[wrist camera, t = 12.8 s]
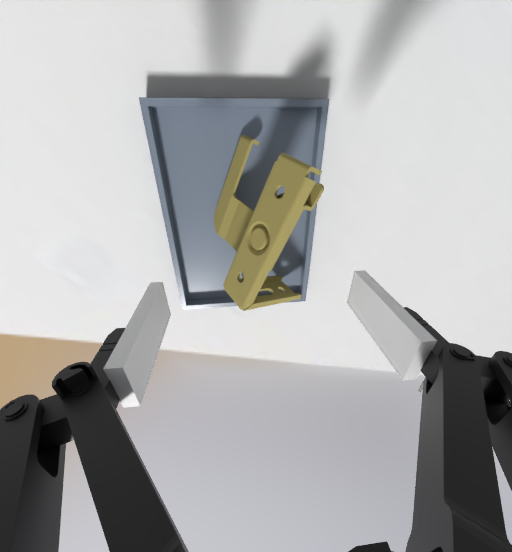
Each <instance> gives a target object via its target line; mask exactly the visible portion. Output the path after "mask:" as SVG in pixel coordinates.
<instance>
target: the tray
mask: <svg viewBox="0 0 512 552" xmlns="http://www.w3.org/2000/svg"><path fill="white" fill-rule="evenodd" d="M139 100H140V105H141V110H142V115H143V120H144V125H145V130H146V134H147V139H148V144H149V149H150V154H151V159H152V164H153V168H154V173H155V178H156V183H157V188H158V193H159V198H160V202H161V207H162V212H163V217H164V222H165V227H166V232H167V236H168V241H169V246H170V251H171V256H172V261H173V266H174V270H175V275H176V280H177V285H178V290H179V295H180V300H181V304H182V309H183V310H185V309H199V308H213V307H227V306H238V305H237V304H236V303H235V302H234V300H233V299H232V298H231V297H230V295H229V294H228V293H227V292H226V290H225V289H224V285H223V284H224V282H225V279H226V277H227V274H228V272H229V270H230V267H231V265H232V262H233V260H234V258H235V255H236V253H237V251H236V250H235V249H234V248H233V247H232V246H231V245H230V244H229V243H228V242H227V241H226V240H225V239H224V238H222V237H220V236H219V235H218V234H217V232H216V230H215V226H214V215H215V210H216V207H217V204H218V201H219V198H220V196H221V193H222V190H223V187H224V184H225V181H226V178H227V175H228V172H229V169H230V166H231V163H232V160H233V157H234V155H235V152H236V149H237V146H238V143H239V140H240V137H241V136H242V135H246V136H248V137H250V138H252V139H254V140H256V141H258V142H260V143H259V146H258V145H256V144H253V145H252V148H251V150H250V153H249V156H248V158H247V161H246V164H245V167H244V169H243V172H242V175H241V177H240V180H239V183H238V186H237V188H236V191H235V195H236V197H237V199H239V200H240V201H242V202H243V203H244V204H246V205H247V206H248V207H249V208H251V209H252V210H253V211H254V210H255V208H256V205H257V203H258V200H259V198H260V196H261V193H262V191H263V189H264V186H265V184H266V181H267V179H268V177H269V174H270V172H271V169H272V167H273V165H274V162H275V161H277V160H278V157H279V155H280V154H281V153H285V154H287V155H289V156H291V157H293V158H295V159H298V160H300V161H302V162H304V163H306V164H308V165H310V166H312V167H314V168H316V169H318V170H320V171H321V164H322V155H323V146H324V138H325V129H326V121H327V112H328V104H329V99H270V98H139ZM307 178H309V179H311V180H313V181H315V182H316V183H319V181H320V176H319V175H317V174H315V173H313V172H311V171H310V173H309V175H308V177H307ZM316 183H315V184H316ZM284 192H285V189H284V187H283V186H281V187H280V188H279V189H278V191H277V195H279V194H282V193H284ZM316 206H317V203H316V205H315V207H314V208H313V209H312V210H311V211H309V210H305V209H304V210H303V212H302V214H301V216H300V218H299V220H298V221H297V223H296V225H295V227H294V229H293V231H292V233H291V235H290V236H289V238H288V240H287V242H286V244H285V246H284V248H283V250H282V252H281V253H280V255H279V257H278V259H277V261H276V263H275V265H274V267H273V268H272V270H271V271H269V273H268V275H267V276H276V275H281V276H282V280H281V281H282V282H283V283H285V284H286V285H287V286H288V287H289V288H290V289H291V290H292V291H293V292H294V293H295V294H298V293H300V294H301V295H302V296H301V298H300V299H297V300H292V301H288V302H299V301H305V300H306V292H307V283H308V275H309V266H310V257H311V249H312V240H313V232H314V223H315V215H316ZM240 278H243V277H242V272H241V273H240ZM279 290H280V291H281V292H284V291H283V290H281V289H279ZM270 294H273V293H272V292H271V291H268V290H266V291H259V292H258V294H257V296H264V295H270ZM283 303H284V302H283Z"/></svg>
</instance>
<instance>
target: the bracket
mask: <svg viewBox="0 0 512 552" xmlns="http://www.w3.org/2000/svg"><path fill="white" fill-rule="evenodd" d="M259 143H260V142H258V141H256V140H254V139H252V138H250V137H248V136H246V135H242V136H241V137H240V140H239V143H238V146H237V149H236V152H235V155H234V157H233V160H232V163H231V166H230V169H229V172H228V175H227V178H226V181H225V184H224V187H223V190H222V193H221V196H220V198H219V201H218V204H217V207H216V210H215V215H214V226H215V230H216V232H217V234H218V235H219V236H220V237H222V238H224V239H225V240H226V241H227V242H228V243H229V244H230V245H231V246H232V247H233V248H234V249H235V250H236V251H237V253H236V255H235V258H234V260H233V262H232V265H231V267H230V270H229V272H228V274H227V277H226V279H225V282H224V284H223V285H224V289H225V290H226V292H227V293H228V294H229V295H230V297H231V298H232V299H233V300H234V302H235V303H236V304H237V305H238V307H239V308H240V309H243V310H244V311H245V310H250V309H254V308H259V307H264V306H269V305H273V304H278V303H283V302H288V301H292V300H297V299H300V298H301V296H302V295H301V294H300V293H298V294H295V293H294V292H293V291H292V290H291V289H290V288H289V287H288V286H287V285H286V284H285V283H283V282H282V281H281V280H282V276H281V275H276V276H267V275H268V273H269V271H271V270H272V268H273V267H274V265H275V263H276V261H277V259H278V257H279V255H280V253H281V252H282V250H283V248H284V246H285V244H286V242H287V240H288V238H289V236H290V235H291V233H292V231H293V229H294V227H295V225H296V223H297V221H298V220H299V218H300V216H301V214H302V212H303V210H304V209H305V210H309V211H311V210H312V209H313V208H314V207H315V205H316V203H317V201H318V200H319V198H320V196H321V194H322V192H323V190H324V187H323V185H322V184H320V183H316V182H315V181H313V180H311V179H309V178H307V177H308V175H309V173H310V171H311V172H313V173H315V174H317V175H319V176H320V174H321V172H322V171H320V170H318V169H316V168H314V167H312V166H310V165H308V164H306V163H304V162H302V161H300V160H298V159H295V158H293V157H291V156H289V155H287V154H285V153H281V154H280V155H279V157H278V160H277V161H275V162H274V165H273V167H272V169H271V172H270V174H269V177H268V179H267V181H266V184H265V186H264V189H263V191H262V193H261V196H260V198H259V200H258V203H257V205H256V208H255V210H254V211H253V210H252V209H251V208H249V207H248V206H247V205H246V204H244V203H243V202H242V201H240V200H239V199H237V197H236V195H235V191H236V188H237V186H238V183H239V180H240V177H241V175H242V172H243V169H244V167H245V164H246V161H247V158H248V156H249V153H250V150H251V148H252V145H253V144H256V145H258V146H259ZM315 183H316V184H315ZM281 186H283V187H284V189H285V192H284V193H282V194H279V195H277V191H278V189H279V188H280V187H281ZM241 272H242V277H243V278H240V273H241ZM279 289H281V290H283V291H284V292H281V291H280V290H279ZM266 290H268V291H271V292H272V293H273V294H270V295H264V296H257V294H258V292H259V291H266Z"/></svg>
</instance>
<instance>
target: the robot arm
mask: <svg viewBox="0 0 512 552" xmlns="http://www.w3.org/2000/svg"><path fill="white" fill-rule="evenodd" d="M347 303H348V305H349V306H350V308H351V309H352V310H353V312H354V313H355V315H356V316H357V317H358V319H359V320H360V322H361V323H362V324H363V326H364V327H365V329H366V330H367V331H368V333H369V334H370V335H371V337H372V338H373V340H374V341H375V342H376V344H377V345H378V347H379V348H380V349H381V351H382V352H383V354H384V355H385V356H386V358H387V359H388V360H389V362H390V363H391V365H392V366H393V367H394V369H395V370H396V372H397V373H398V374H399V376H400V377H401V379H402V380H409V379H417V377H418V375H419V373H420V371H421V372H422V373H423V374H424V375H425V376H426V378H425V380H424V381H423V383H422V385H421V386H420V388H419V390H418V391H420V392H421V391H422V389H423V394H422V408H421V421H420V434H419V447H418V461H417V473H416V486H415V500H414V512H413V525H412V531H411V535H410V537H409V540H408V543H407V547H406V552H512V545H511V544H510V543H509V541H508V539H507V535H506V531H505V524H504V518H503V512H502V506H501V499H500V494H499V487H498V481H497V475H496V469H495V462H494V456H493V450H492V447H493V449H494V451H495V453H496V456H497V458H498V460H499V463H500V465H501V467H502V470H503V472H504V474H505V476H506V479H507V481H508V483H509V486H510V488H511V490H512V353H509V352H504V351H498V352H496V353H495V354H494V355H493V357H492V358H488V357H482V356H476V355H474V354H473V353H472V352H471V351H470V350H468V349H467V348H465V347H463V346H460V345H457V344H453V343H449V342H447V341H446V340H445V339H444V338H443V337H442V336H441V335H440V334H439V333H438V332H437V331H436V330H435V329H433V328H432V327H431V326H430V325H428V323H427V322H426V321H425V320H423V318H422V317H421V316H419V315H418V314H417V313H416V312H414V311H413V310H411V309H409V308H407V307H404V308H403V307H402V306H401V305H400V304H399V303H398V302H397V301H396V300H395V299H394V298H393V297H392V296H391V295H390V294H389V293H387V292H386V291H385V290H384V289H383V288H382V287H381V286H380V285H379V284H378V283H377V282H376V281H375V280H374V279H373V278H372V277H371V276H370V275H369V274H368V273H367V272H366V271H354V275H353V279H352V284H351V288H350V292H349V296H348V300H347ZM170 315H171V314H170V310H169V306H168V302H167V298H166V294H165V290H164V286H163V282H155V283H150V285H149V286H148V288H147V290H146V292H145V294H144V296H143V297H142V299H141V301H140V303H139V305H138V306H137V308H136V310H135V312H134V314H133V316H132V317H131V319H130V321H129V323H128V325H127V327H126V328H117V329H115V330H114V331H113V332H112V333H111V334H109V335H108V336H107V338H106V340H105V341H104V343H103V345H102V346H101V348H100V349H99V352H98V353H97V354H96V356H95V358H94V359H93V361H92V362H91V364H89V363H87V362H79V363H75V364H72V365H70V366H68V367H66V368H64V369H63V370H61V371H60V372H59V373H58V374H57V375H56V376H55V378H54V380H53V381H52V387H53V389H54V390H55V391H56V393H57V395H54V396H51V397H48V398H45V399H42V400H39V399H38V397H36V396H34V395H24V396H21V397H18V398H16V399H15V400H12V401H10V402H9V403H8V404H7V405H5V406H4V407H3V408H1V410H0V552H58V548H59V534H60V519H61V506H62V492H63V477H64V463H65V448H66V443H68V442H70V441H72V440H74V441H75V444H76V447H77V450H78V453H79V456H80V459H81V462H82V466H83V469H84V472H85V475H86V478H87V481H88V485H89V488H90V491H91V494H92V497H93V500H94V503H95V507H96V510H97V513H98V516H99V519H100V522H101V525H102V529H103V532H104V535H105V538H106V541H107V544H108V547H109V551H110V552H188V550H187V548H186V546H185V544H184V542H183V540H182V538H181V536H180V534H179V532H178V530H177V528H176V526H175V524H174V522H173V520H172V518H171V516H170V514H169V512H168V510H167V508H166V506H165V505H164V503H163V501H162V499H161V497H160V495H159V493H158V491H157V489H156V487H155V485H154V483H153V481H152V479H151V477H150V475H149V473H148V471H147V469H146V467H145V465H144V463H143V461H142V459H141V458H140V455H139V454H138V452H137V450H136V448H135V446H134V444H133V442H132V440H131V438H130V436H129V434H128V432H127V430H126V428H125V426H124V424H123V422H122V420H121V418H120V416H119V414H118V412H117V411H116V408H117V405H118V403H119V401H120V402H121V404H122V406H123V407H124V408H125V407H135V406H140V405H141V402H142V399H143V396H144V393H145V390H146V387H147V384H148V381H149V378H150V375H151V372H152V369H153V366H154V363H155V360H156V357H157V354H158V351H159V348H160V345H161V342H162V339H163V336H164V333H165V330H166V327H167V324H168V321H169V318H170ZM509 399H510V401H509ZM510 402H511V403H510ZM349 552H393V551H391V550H390V548H389V546H388V543H387V542H381V543H375V544H368V545H362V546H356V547H355V548H353V549H352V550H350V551H349Z"/></svg>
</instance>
